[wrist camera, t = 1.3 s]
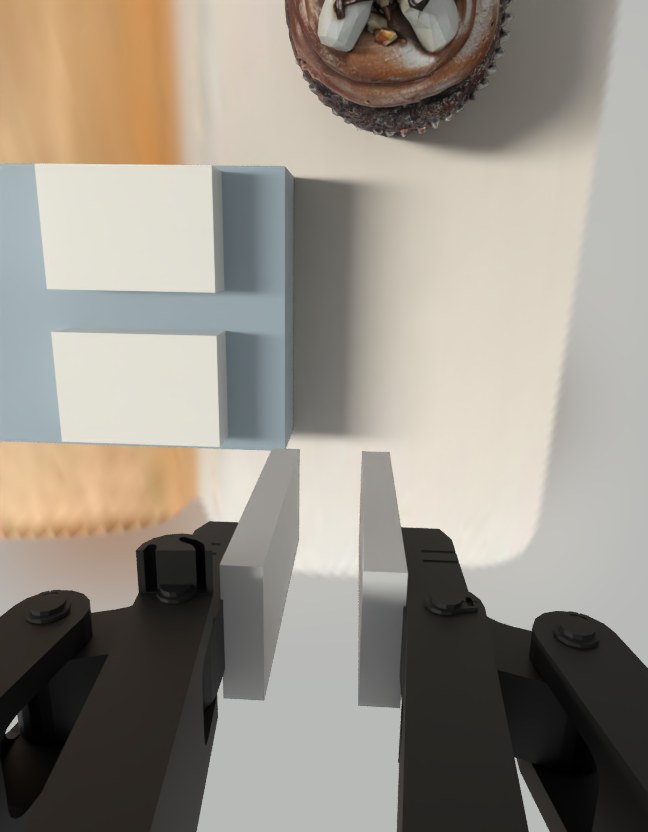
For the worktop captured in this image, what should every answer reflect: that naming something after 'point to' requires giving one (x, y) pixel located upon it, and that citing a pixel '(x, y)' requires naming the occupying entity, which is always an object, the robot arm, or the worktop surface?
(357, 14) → the cupcake
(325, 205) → the worktop surface
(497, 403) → the worktop surface
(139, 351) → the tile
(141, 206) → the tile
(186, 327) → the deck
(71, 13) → the worktop surface
